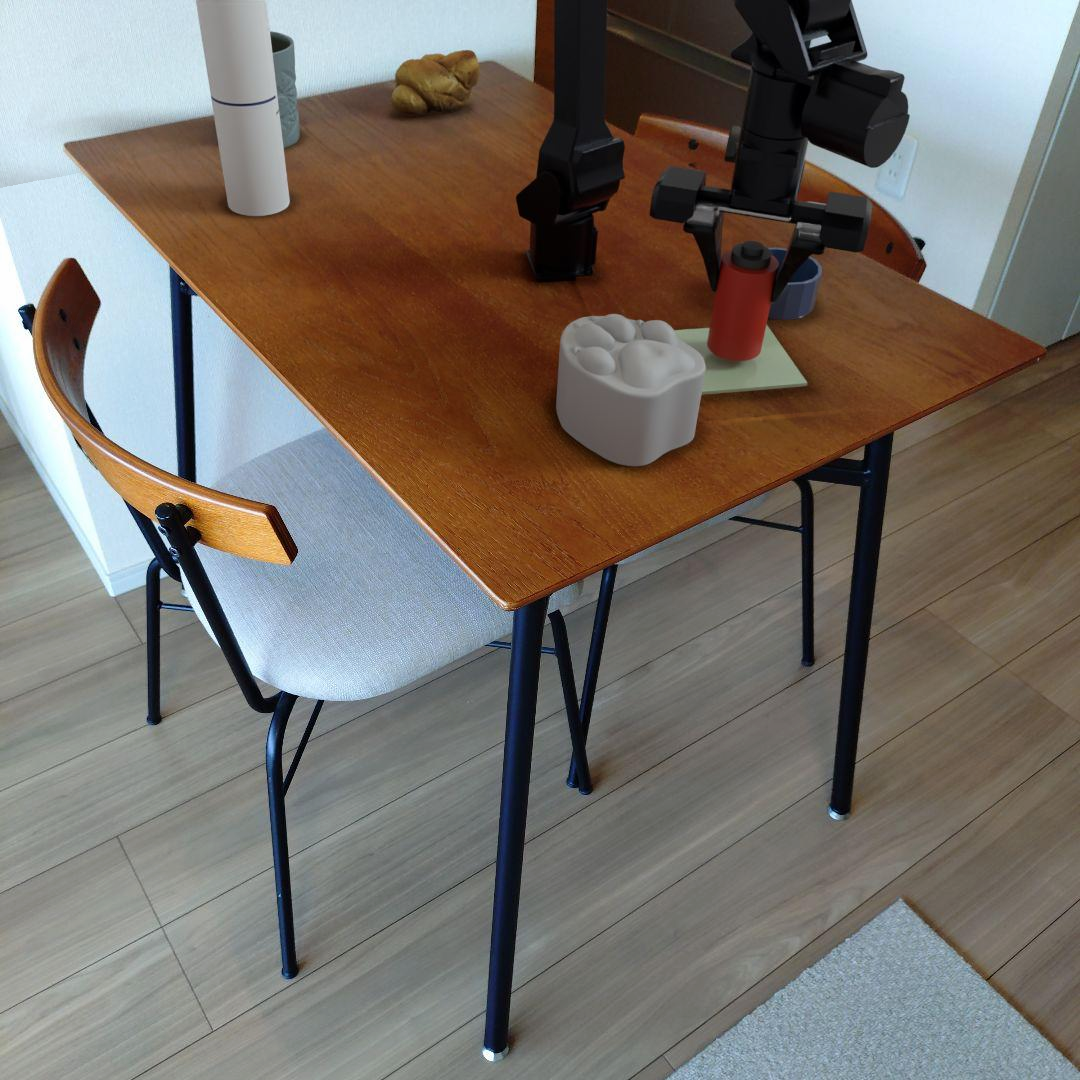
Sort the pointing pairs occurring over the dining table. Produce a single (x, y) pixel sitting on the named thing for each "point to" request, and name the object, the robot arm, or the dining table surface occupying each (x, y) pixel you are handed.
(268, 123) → the cylindrical container
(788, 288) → the cup
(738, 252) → the bottle
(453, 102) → the bread roll
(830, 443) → the dining table surface
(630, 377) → the lumpy-topped squat cylinder
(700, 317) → the dining table surface
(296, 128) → the embossed grey-green pot
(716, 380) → the tile
